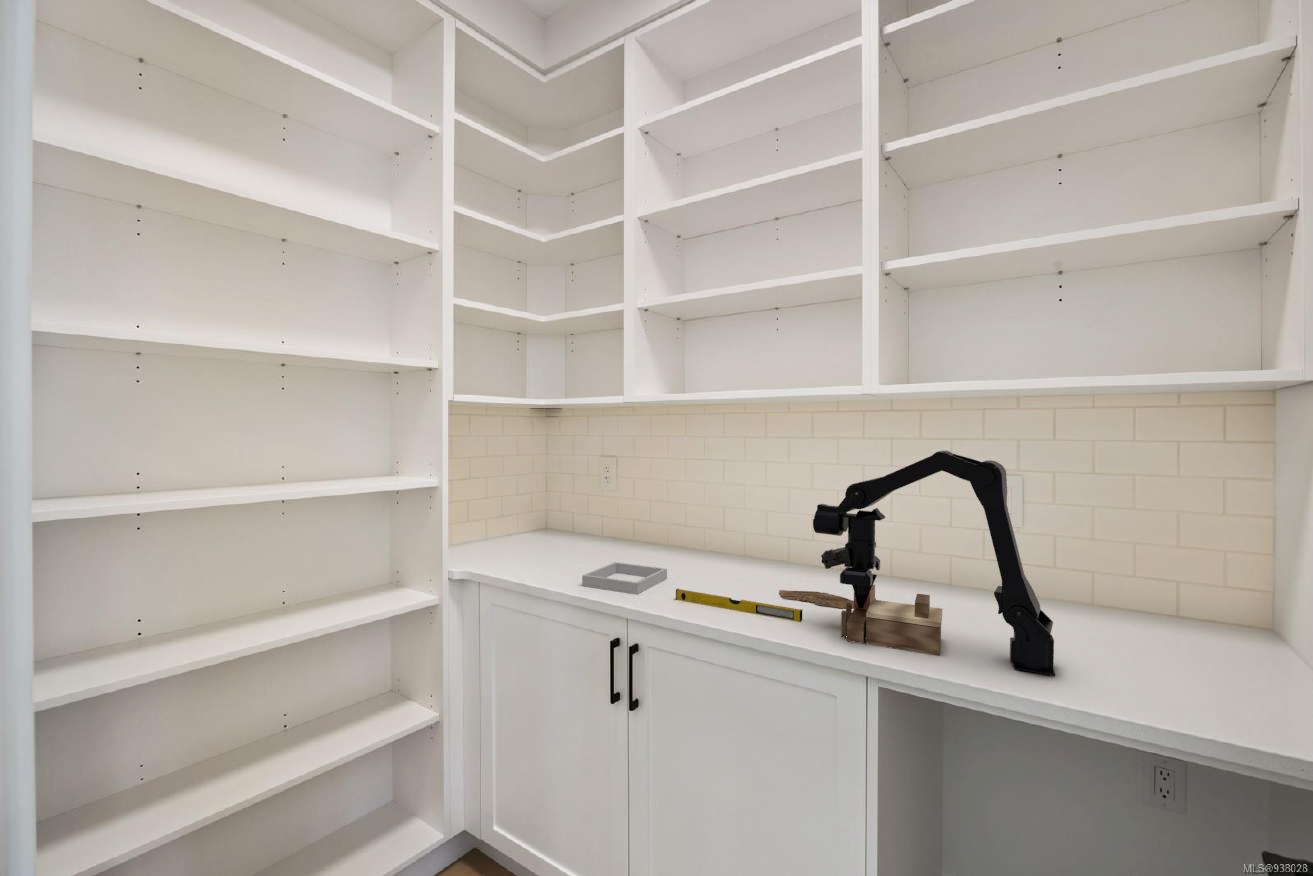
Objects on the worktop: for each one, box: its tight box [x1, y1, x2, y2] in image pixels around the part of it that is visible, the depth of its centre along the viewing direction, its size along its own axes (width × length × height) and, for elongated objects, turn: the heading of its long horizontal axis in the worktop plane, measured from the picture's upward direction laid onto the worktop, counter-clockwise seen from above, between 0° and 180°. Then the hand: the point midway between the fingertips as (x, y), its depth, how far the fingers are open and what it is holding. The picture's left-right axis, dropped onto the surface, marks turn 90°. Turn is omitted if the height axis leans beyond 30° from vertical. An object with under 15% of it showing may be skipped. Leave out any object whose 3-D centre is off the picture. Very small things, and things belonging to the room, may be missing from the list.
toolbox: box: [840, 597, 942, 656], centre depth 132 cm, size 19×21×6 cm
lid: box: [866, 593, 943, 629], centre depth 126 cm, size 14×10×4 cm
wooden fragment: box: [778, 589, 854, 610], centre depth 155 cm, size 26×11×1 cm, turn 53°
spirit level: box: [675, 588, 803, 623], centre depth 147 cm, size 33×1×3 cm, turn 59°
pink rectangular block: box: [853, 584, 876, 610], centre depth 138 cm, size 4×9×4 cm, turn 153°
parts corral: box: [581, 561, 668, 595], centre depth 172 cm, size 18×18×3 cm
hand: (860, 607), depth 132 cm, fingers closed
